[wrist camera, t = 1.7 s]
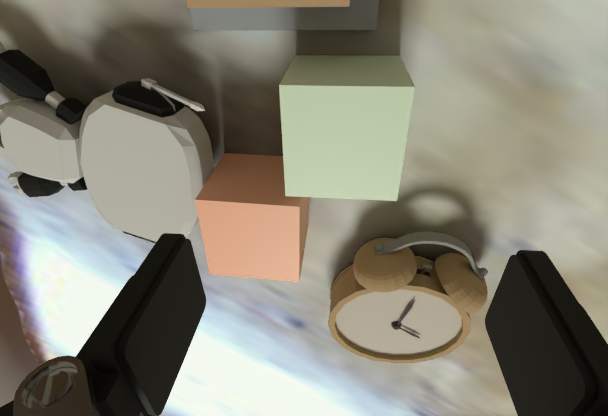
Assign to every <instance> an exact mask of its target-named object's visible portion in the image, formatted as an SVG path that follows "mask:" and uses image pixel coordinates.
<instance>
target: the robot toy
mask: <svg viewBox="0 0 608 416" xmlns="http://www.w3.org/2000/svg"><path fill="white" fill-rule="evenodd" d="M0 83H2V84H3V85H5V86H6V87H7V88H9V89H10V90H11V91H13V92H14V93H16V94H17V95H18V96H22V97H26V98H20V99H15V100H13V101H10V102H7V103H5V104H2V105H0V153H1V154H3V155H4V156H6V157H8V158H9V159H10V160H11V161H12V162H13V163H14V164H15V165H16V166H17V168H18V169H19V170H20V171H21V172H14V173H12V174H10V175H9V177H8V180H9V182H10V183H16V184H17V185H16V186H14V187H13V188H14V189H15V190H16V192H17V193H18V194H24V195H28V196H29V197H38V196H49V195H52V194H55V193H57V192H59V191H60V190H61V189H62V188H64V187H65V186H69V187H70V188H71V189H72V190H73V191H76V190H86V189H88V192H89V194H90V196H91V199H92V201H93V203H94V205H95V207H96V209H97V211H98V212H99V213H100V214H101V215H102V217H103V218H104V219H105V220H106V221H107V222H108V223H109V224H110V225H111V226H112V227H113V228H115V229H118V230H121V231H123V232H124V233H126V234H129V235H132V236H135V237H138V238H141V239H144V240H145V241H147V242H153V243H155V244H156V242H157V241H158V239H159V238H160V236H161V235H162V234H164V233H173V234H183V235H184V236H185V237H186V236H187V235H188V234H189V232H190V231H191V230H192V228H193V227H194V226H195V224H196V223H197V222H198V220H199V217H198V212H197V207H196V202H195V199H196V197H197V196H198V194H199V193H200V191H201V189H202V188H203V186H204V185H205V183H206V181H207V180H208V178H209V177H210V175H211V174H212V172H213V170H214V164H213V153H212V147H211V142H210V138H209V135H208V132H207V131H206V129H205V127H204V125H203V123H202V121H201V119H200V118H199V117H198V116H197V115H196V114H195V113H194V112H193V111H192V110H191V109H190V108H192V109H194V110H196V111H205V109H204V107H203V105H202V104H199V103H197V102H193V101H191V100H188V99H186V98H184V97H182V96H180V95H178V94H176V93H174V92H172V91H170V90H167V89H165V88H163V87H161V86H159V85H157V82H156V81H154V80H152V79H150V78H146V79H141V81H133V82H127V83H125V84H122V85H120V86H118V87H116V88H114V90H112V91H110V92H108V93H106V94H104V95H102V96H99V97H97V98H95V99H94V100H93V101H92V102H91V103H90V105H89V106H88V107H86V106H85V105H84V104H83V103H81V102H80V101H79V100H77V99H76V98H69V99H65V98H64V97H62V96H61V95H60V94H58V93H57V92H56V91H55V89H54V87H53V85H52V82H51V80H50V78H49V76H48V74H47V72H46V70H45V69H43V68H42V67H41V66H39V65H38V64H37V63H35V62H34V61H33V60H31V59H30V58H29V57H27V56H26V55H25V54H24V53H22V52H21V51H20V50H8V51H6V49H5V48H4V46H3V45H2V43H1V42H0ZM183 103H184V104H186V105H188V106H190V108H188V107H185V106H184V104H183Z"/></svg>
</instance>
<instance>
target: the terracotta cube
mask: <svg viewBox="0 0 608 416" xmlns="http://www.w3.org/2000/svg"><path fill="white" fill-rule="evenodd" d="M308 198H309V197H293V196H285V180H284V162H283V156H269V155H252V154H234V153H224V155H223V156H222V158H221V159H220V161H219V162H218V164H217V166H216V167H215V169H214V170H213V172H212V174H211V175H210V177H209V178H208V180H207V181H206V183H205V185H204V186H203V188H202V189H201V191H200V193H199V194H198V196H197V197H196V199H195V202H196V207H197V212H198V217H199V222H200V227H201V232H202V237H203V242H204V247H205V252H206V257H207V262H208V267H209V272H210V274H213V275H224V276H236V277H248V278H259V279H271V280H283V281H295V282H299V280H300V274H301V268H302V261H303V255H304V248H305V242H306V235H307V229H308Z"/></svg>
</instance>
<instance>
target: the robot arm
mask: <svg viewBox="0 0 608 416" xmlns="http://www.w3.org/2000/svg"><path fill="white" fill-rule="evenodd" d="M205 305H206V297H205V293H204V289H203V286H202V282H201V278H200V274H199V271H198V267H197V263H196V260H195V256H194V252H193V248H192V245H191V241H190V240H189V239H186V238H185V236H184V235H183V234H173V233H164V234H162V235H161V236H160V238H159V239H158V241H157V242H156V244H155V245H154V247H153V248H152V250H151V251H150V253H149V254H148V255H147V257H146V258H145V260H144V261H143V263H142V264H141V266H140V267H139V269H138V270H137V272H136V273H135V275H134V276H132V277H131V278H130V279H129V280H128V281H127V283H126V284H125V286H124V287H123V289H122V290H121V292H120V293H119V295H118V296H117V298H116V299H115V300H114V302H113V303H112V305H111V306H110V308H109V309H108V311H107V312H106V314H105V315H104V317H103V318H102V319H101V321H100V322H99V324H98V325H97V327H96V328H95V330H94V331H93V333H92V334H91V336H90V337H89V339H88V340H87V341H86V343H85V344H84V346H83V347H82V349H81V350H80V352H79V353H78V355H77V356H76V357H73V356H61V357H57V358H54V359H51V360H48V361H46V362H45V363H43V364H41V365H39V366H38V367H36V368H35V369H34V370H33V371H31V372H30V373H29V374H28V375H27V376H26V377H25V379H24V380H23V381H22V382H21V383H20V385H19V387H18V389H17V390H16V392H15V396H14V400H13V401H11V402H10V403H8V404H6V405H4V406H2V407H0V416H159V415H160V414H161V413H162V411H163V409H164V407H165V404H166V402H167V399H168V397H169V395H170V392H171V390H172V387H173V385H174V382H175V380H176V378H177V375H178V373H179V370H180V368H181V365H182V363H183V360H184V358H185V356H186V353H187V351H188V348H189V346H190V343H191V341H192V339H193V336H194V334H195V331H196V329H197V326H198V324H199V322H200V319H201V317H202V314H203V312H204V309H205ZM485 325H486V329H487V332H488V335H489V338H490V340H491V343H492V346H493V349H494V351H495V354H496V357H497V360H498V362H499V365H500V368H501V371H502V373H503V376H504V379H505V381H506V384H507V387H508V390H509V392H510V395H511V398H512V401H513V403H514V406H515V409H516V412H517V414H518V416H608V344H607V343H606V341H605V340H604V338H603V337H602V335H601V333H600V332H599V330H598V329H597V327H596V326H595V324H594V323H593V321H592V320H591V318H590V317H589V315H588V314H587V312H586V311H585V309H584V308H583V307H582V306H581V305H580V304H579V303H578V301H577V300H576V298H575V297H574V295H573V294H572V292H571V290H570V289H569V287H568V286H567V284H566V283H565V281H564V280H563V278H562V277H561V275H560V274H559V272H558V271H557V269H556V268H555V266H554V265H553V263H552V262H551V260H550V259H549V257H548V256H547V254H546V253H545V252H543V251H528V250H519V251H518V252H517V254H516V255H512V256H510V258H509V260H508V263H507V265H506V268H505V270H504V273H503V275H502V278H501V280H500V283H499V285H498V287H497V290H496V292H495V295H494V297H493V300H492V302H491V305H490V307H489V309H488V312H487V314H486V318H485Z"/></svg>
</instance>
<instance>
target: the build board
mask: <svg viewBox="0 0 608 416" xmlns="http://www.w3.org/2000/svg"><path fill="white" fill-rule="evenodd" d="M378 11H379V0H350V5H349V7H255V8H190V13H191V19H192V24H193V30H377V22H378Z"/></svg>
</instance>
